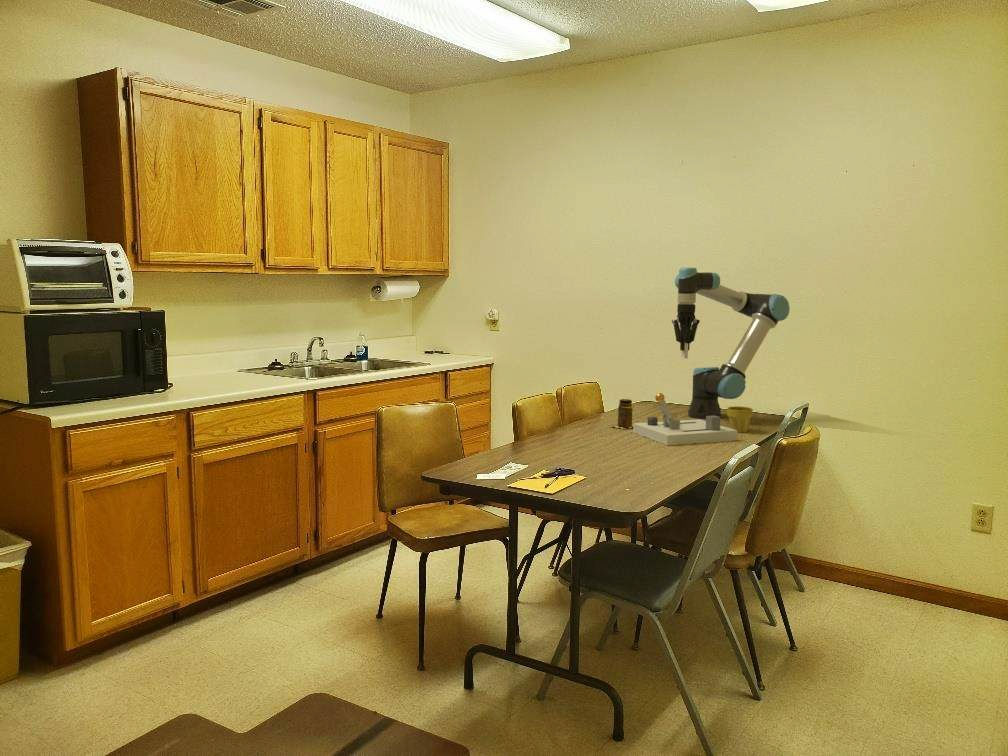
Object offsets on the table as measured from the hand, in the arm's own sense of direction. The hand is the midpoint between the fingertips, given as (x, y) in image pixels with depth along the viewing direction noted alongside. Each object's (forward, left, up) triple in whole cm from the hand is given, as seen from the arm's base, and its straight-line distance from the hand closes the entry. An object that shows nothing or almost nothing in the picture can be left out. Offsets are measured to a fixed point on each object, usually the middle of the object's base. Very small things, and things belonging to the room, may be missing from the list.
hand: (684, 358), depth 336 cm
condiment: (+28, -2, -30) cm, 41 cm away
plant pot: (-15, +20, -30) cm, 39 cm away
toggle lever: (+20, +23, -24) cm, 39 cm away
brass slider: (+16, +16, -25) cm, 34 cm away
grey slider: (+6, +31, -25) cm, 40 cm away
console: (+14, +23, -29) cm, 40 cm away
